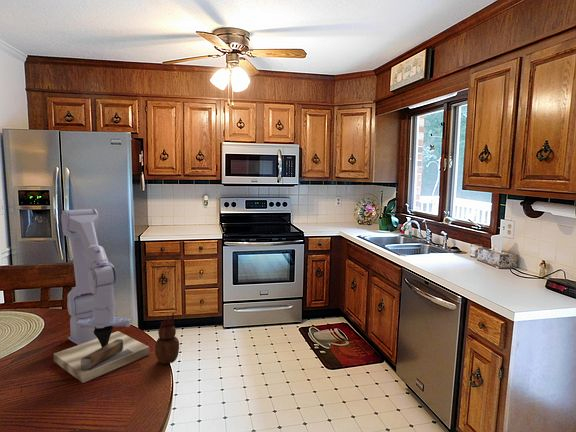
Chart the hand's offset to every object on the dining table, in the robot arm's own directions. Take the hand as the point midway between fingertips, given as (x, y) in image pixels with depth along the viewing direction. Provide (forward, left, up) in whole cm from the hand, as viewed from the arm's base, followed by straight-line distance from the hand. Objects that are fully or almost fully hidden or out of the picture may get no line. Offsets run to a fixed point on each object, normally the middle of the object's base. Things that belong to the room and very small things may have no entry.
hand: (105, 349), depth 110 cm
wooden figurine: (+15, +11, -4) cm, 19 cm away
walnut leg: (+3, -2, -1) cm, 4 cm away
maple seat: (-2, 0, -3) cm, 4 cm away
